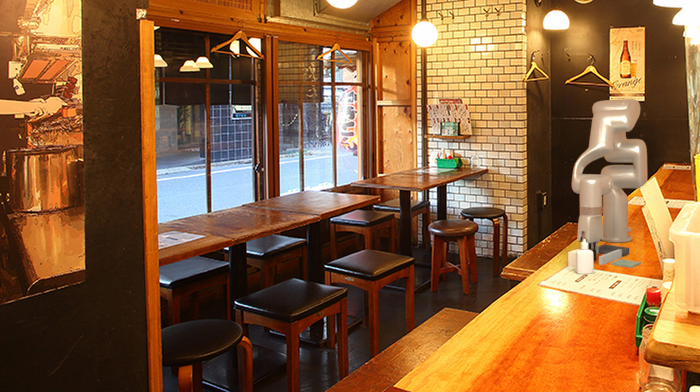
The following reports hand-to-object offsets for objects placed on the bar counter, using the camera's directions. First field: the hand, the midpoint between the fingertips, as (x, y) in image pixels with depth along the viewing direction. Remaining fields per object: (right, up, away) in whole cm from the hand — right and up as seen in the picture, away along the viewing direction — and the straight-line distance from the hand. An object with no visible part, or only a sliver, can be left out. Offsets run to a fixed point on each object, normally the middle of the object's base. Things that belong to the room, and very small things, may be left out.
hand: (591, 259), depth 219 cm
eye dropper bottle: (-8, -3, -14) cm, 16 cm away
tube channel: (+4, 0, +3) cm, 5 cm away
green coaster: (+10, -1, -6) cm, 12 cm away
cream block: (-6, -2, -5) cm, 8 cm away
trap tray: (+13, +1, +10) cm, 16 cm away
